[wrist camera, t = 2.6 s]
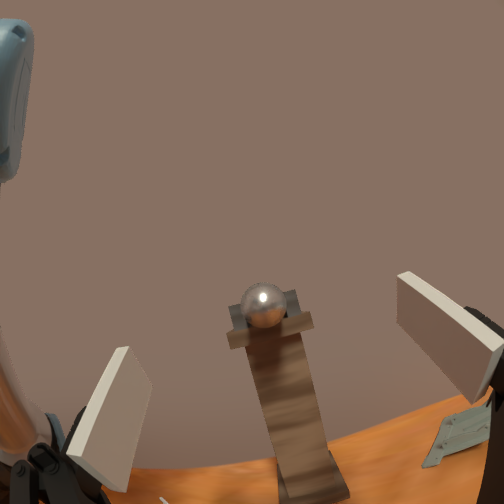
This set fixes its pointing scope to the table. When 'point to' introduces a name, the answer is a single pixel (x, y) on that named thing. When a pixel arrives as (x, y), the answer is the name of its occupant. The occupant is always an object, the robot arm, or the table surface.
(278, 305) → the chrome rounded rod
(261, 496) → the table surface
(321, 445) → the walnut stand
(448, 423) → the metal bracket
